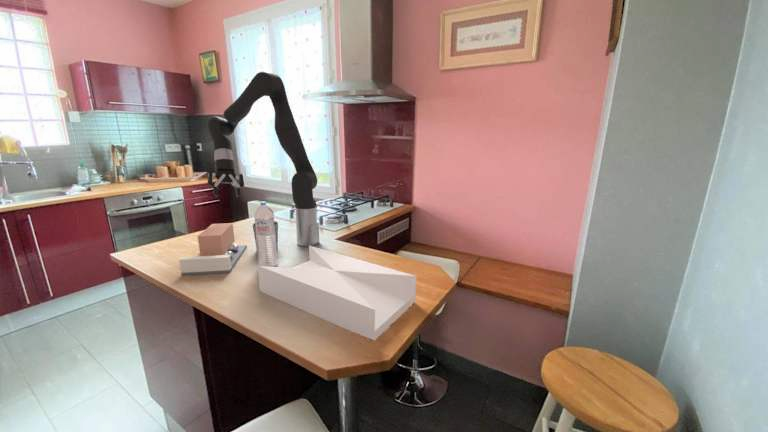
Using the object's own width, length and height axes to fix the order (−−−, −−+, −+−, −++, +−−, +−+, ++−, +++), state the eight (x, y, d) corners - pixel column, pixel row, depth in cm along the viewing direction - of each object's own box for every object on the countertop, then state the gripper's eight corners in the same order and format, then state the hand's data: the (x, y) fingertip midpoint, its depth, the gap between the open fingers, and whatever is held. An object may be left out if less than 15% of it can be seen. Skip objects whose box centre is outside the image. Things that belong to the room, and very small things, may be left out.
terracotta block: (214, 241, 133) (212, 223, 131) (234, 241, 135) (232, 223, 133) (200, 256, 118) (197, 236, 116) (223, 255, 120) (220, 235, 118)
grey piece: (207, 249, 136) (205, 235, 135) (246, 247, 139) (245, 234, 137) (181, 275, 112) (179, 259, 110) (230, 272, 114) (228, 257, 113)
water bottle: (281, 263, 123) (277, 201, 116) (268, 270, 117) (262, 205, 110) (268, 260, 125) (263, 199, 119) (254, 267, 119) (248, 202, 113)
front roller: (235, 256, 126) (234, 249, 125) (232, 259, 123) (232, 252, 123) (199, 258, 124) (198, 251, 123) (196, 261, 121) (195, 254, 120)
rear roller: (240, 249, 134) (239, 242, 133) (238, 252, 131) (237, 245, 130) (207, 250, 131) (206, 244, 131) (204, 253, 129) (203, 246, 128)
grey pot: (253, 255, 130) (250, 227, 127) (257, 246, 140) (254, 220, 137) (278, 253, 133) (276, 226, 129) (281, 245, 142) (279, 219, 139)
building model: (415, 304, 97) (416, 276, 94) (374, 343, 79) (375, 309, 76) (309, 268, 120) (308, 245, 117) (260, 292, 102) (257, 265, 99)
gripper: (208, 156, 131) (212, 193, 129) (243, 159, 141) (247, 194, 139) (204, 162, 137) (207, 198, 135) (238, 165, 147) (241, 198, 144)
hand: (227, 196), depth 137 cm, fingers open, 8 cm apart
